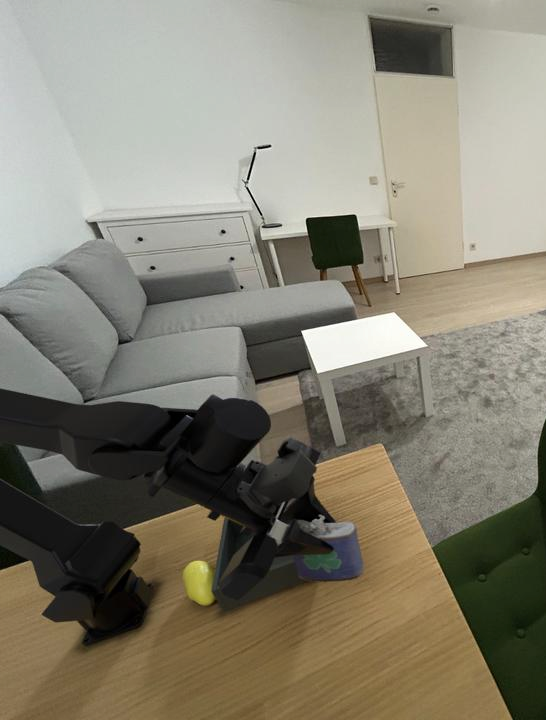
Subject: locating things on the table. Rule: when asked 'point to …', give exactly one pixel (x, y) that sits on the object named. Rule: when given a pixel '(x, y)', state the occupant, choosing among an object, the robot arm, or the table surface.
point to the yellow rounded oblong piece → (199, 582)
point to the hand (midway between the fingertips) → (334, 540)
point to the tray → (274, 581)
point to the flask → (340, 561)
